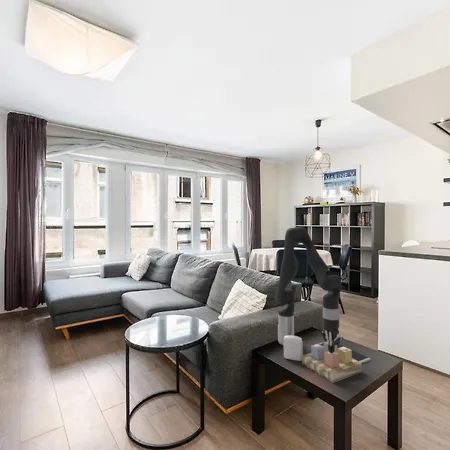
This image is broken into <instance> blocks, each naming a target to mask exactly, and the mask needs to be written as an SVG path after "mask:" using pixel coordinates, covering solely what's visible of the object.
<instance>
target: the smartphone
mask: <svg viewBox="0 0 450 450" xmlns="http://www.w3.org/2000/svg"><path fill="white" fill-rule="evenodd" d="M324 342H325V341H323V342H320V343H318V344H319V345H321V346H323V347H324ZM341 347H346V346H344V345H342V344H340V343H339V344H338V345H337V348H341ZM346 348H348V347H346ZM348 349H350V350H352V358H353V359H355V360H357V361H359V362H361V363H362V364H365V363H368V362H370V361H371V358H370V357H369V356H366V355H365V354H362V353H360V352H357V351H355V350H353V349H351V348H348ZM337 351H338V350H337Z"/></svg>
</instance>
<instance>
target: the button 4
mask: <svg viewBox="0 0 450 450" xmlns="http://www.w3.org/2000/svg"><path fill="white" fill-rule="evenodd" d="M350 349H351V348H349V349H348V347H347V348H346V346H344V347H341V348H337V350H338V354H339V361H340V362H342V363H344V364H348V363H351V362H352V350H353V349H351V350H350Z"/></svg>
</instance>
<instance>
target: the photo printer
mask: <svg viewBox="0 0 450 450" xmlns="http://www.w3.org/2000/svg"><path fill="white" fill-rule="evenodd" d="M303 344H304V343H303V339H302V338H301V337H300V336H297V335H294V336H292V335H288V336H285V337H284V345H283V358H284V359H287V360H292V361H298V362H302V356H303V355H304V346H303Z"/></svg>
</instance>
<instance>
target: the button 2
mask: <svg viewBox="0 0 450 450" xmlns="http://www.w3.org/2000/svg"><path fill="white" fill-rule="evenodd" d="M323 342H324V352H328V344H327V342H325V341H323ZM334 352H335V353H337V345H335V351H334Z"/></svg>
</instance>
